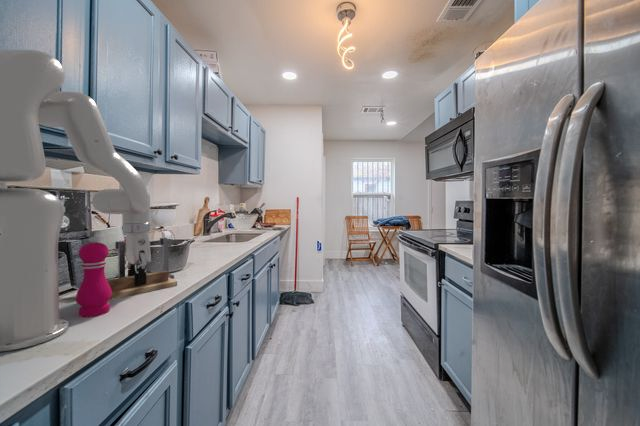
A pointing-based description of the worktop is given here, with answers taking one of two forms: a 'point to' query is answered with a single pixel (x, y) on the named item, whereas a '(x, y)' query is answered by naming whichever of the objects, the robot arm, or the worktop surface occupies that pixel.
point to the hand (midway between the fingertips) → (137, 282)
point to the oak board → (143, 288)
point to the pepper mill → (93, 280)
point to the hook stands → (165, 256)
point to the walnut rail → (129, 281)
